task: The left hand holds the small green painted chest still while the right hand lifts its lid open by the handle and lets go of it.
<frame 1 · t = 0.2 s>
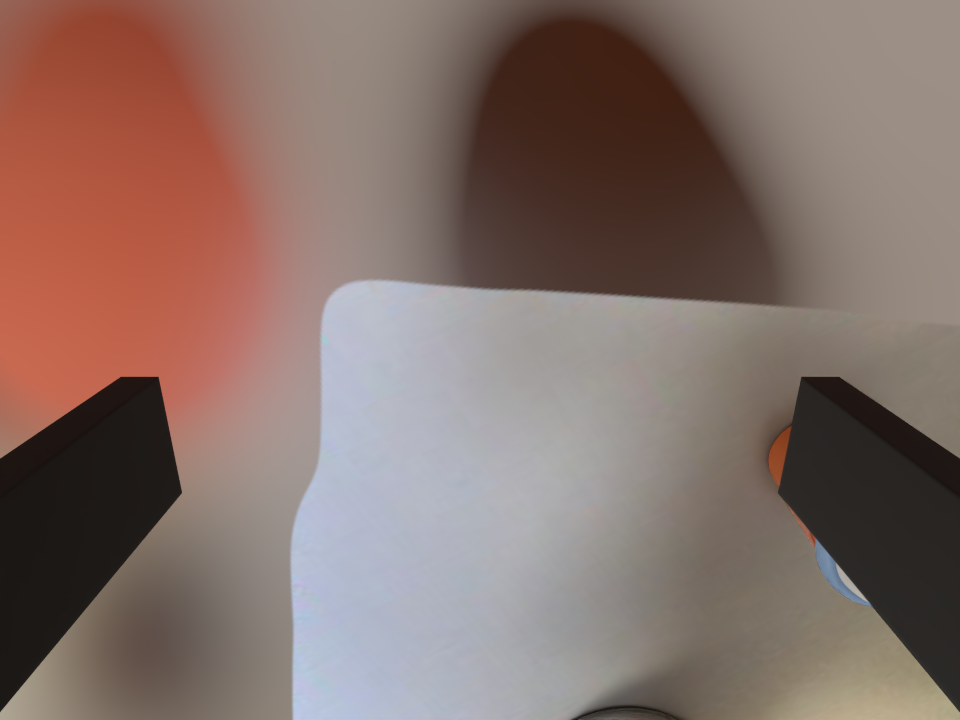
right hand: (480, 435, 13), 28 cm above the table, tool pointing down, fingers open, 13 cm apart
cup with straw: (808, 452, 44), on the table
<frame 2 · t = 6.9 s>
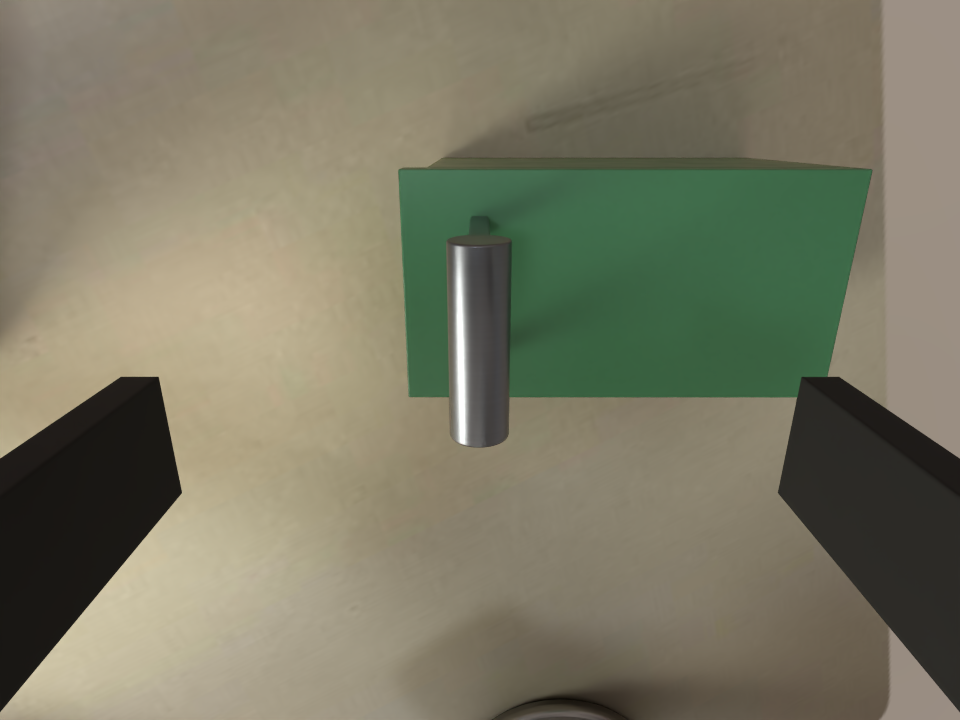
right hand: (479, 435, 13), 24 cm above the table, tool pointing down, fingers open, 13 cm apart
chest: (588, 243, 35), on the table
lid: (644, 312, 21), point 14 cm above the table, hinge at 0.0°
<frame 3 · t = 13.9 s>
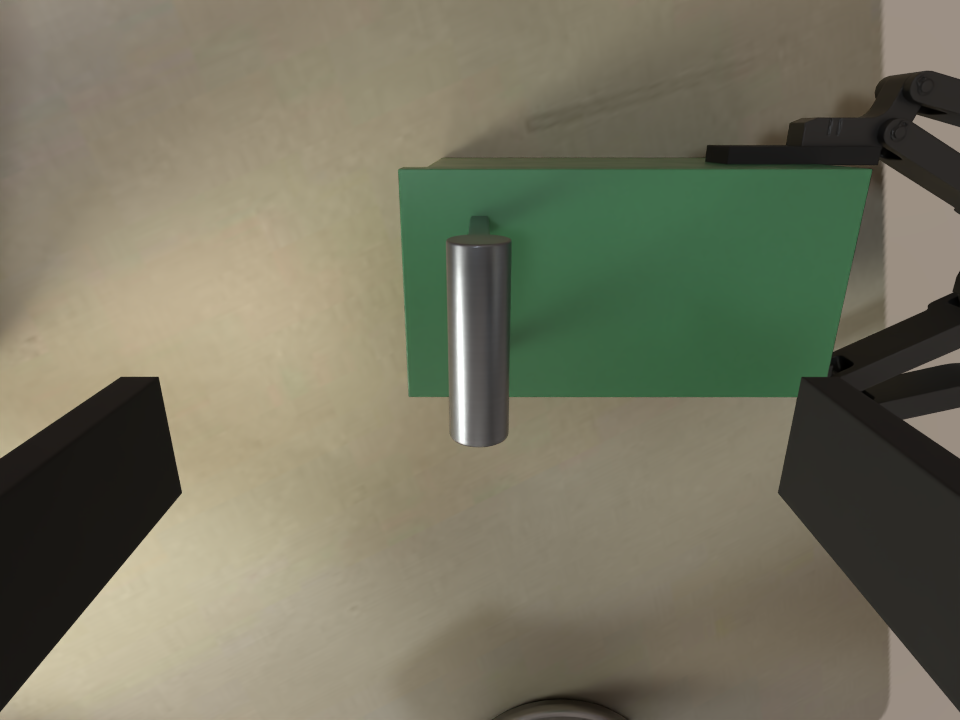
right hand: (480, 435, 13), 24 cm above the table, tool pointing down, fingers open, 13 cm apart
chest: (588, 242, 35), on the table, touching left hand
lid: (644, 311, 21), point 14 cm above the table, hinge at 0.0°
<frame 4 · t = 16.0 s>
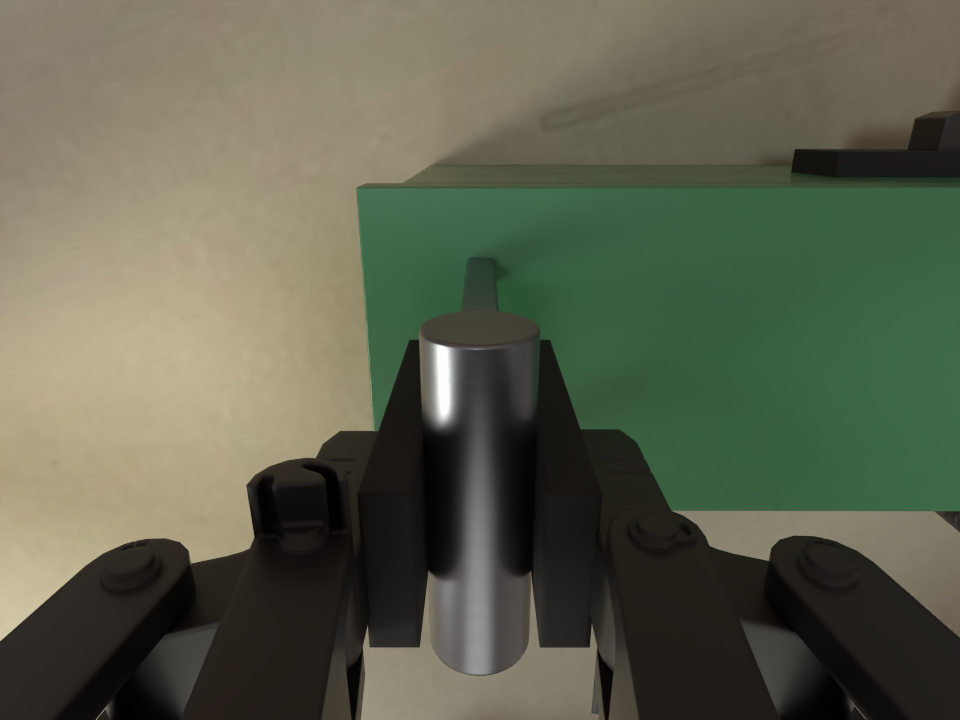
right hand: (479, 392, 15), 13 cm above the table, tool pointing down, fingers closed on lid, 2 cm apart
chest: (621, 274, 27), on the table, touching left hand
lid: (740, 414, 14), point 14 cm above the table, hinge at -0.1°, touching right hand
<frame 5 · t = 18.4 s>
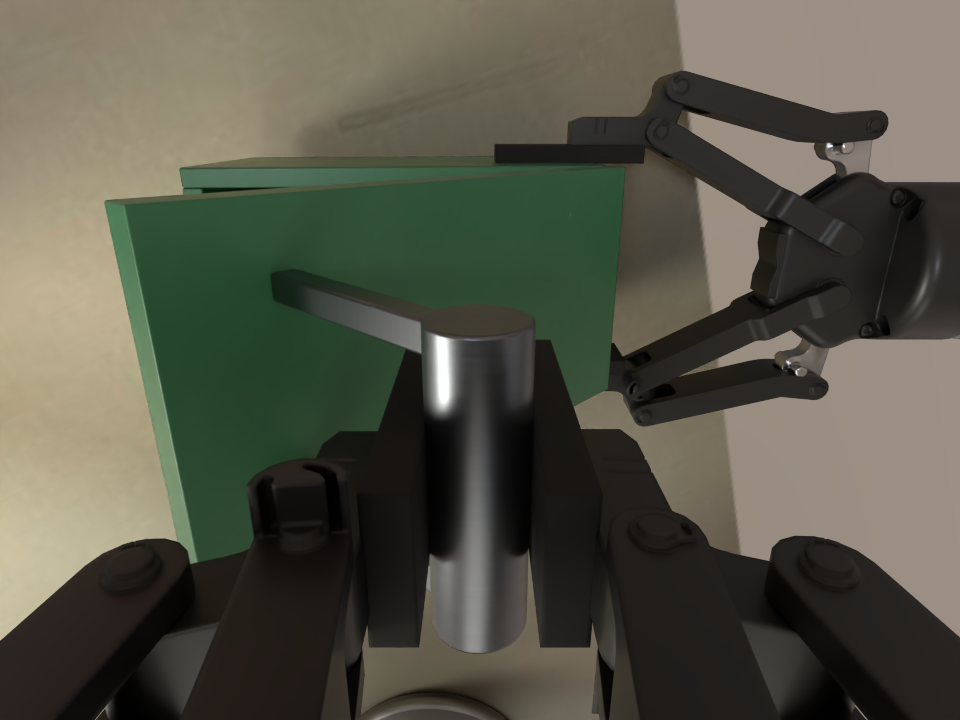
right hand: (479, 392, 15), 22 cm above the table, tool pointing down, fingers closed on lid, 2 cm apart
left hand: (494, 262, 29), fingers closed on chest, 9 cm apart
chest: (412, 242, 35), point 1 cm above the table, touching left hand
lid: (538, 357, 17), point 20 cm above the table, hinge at 42.1°, touching right hand
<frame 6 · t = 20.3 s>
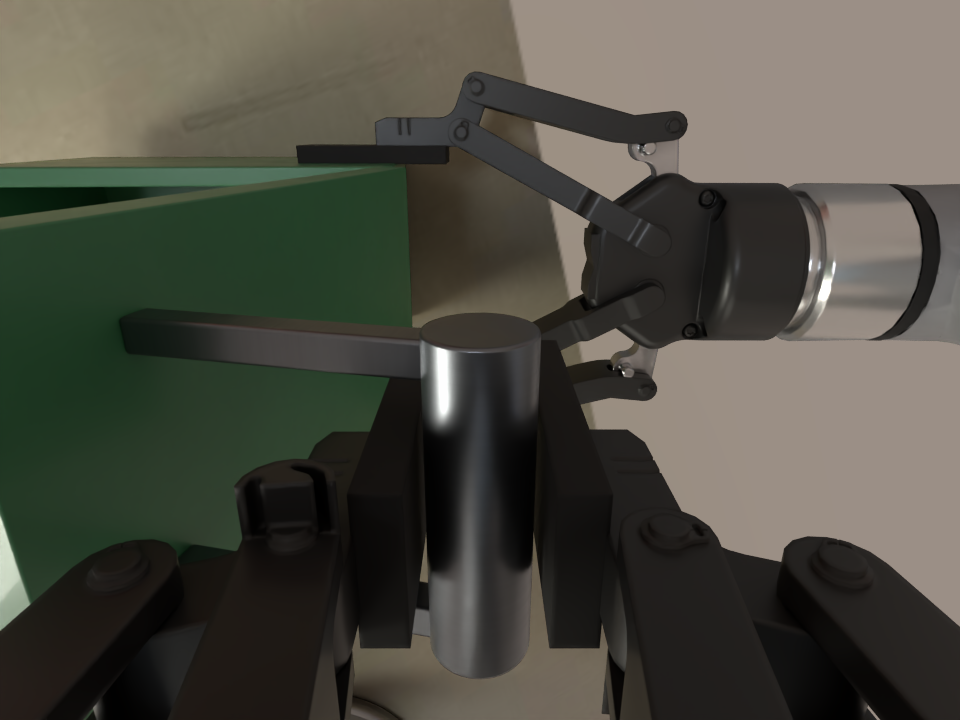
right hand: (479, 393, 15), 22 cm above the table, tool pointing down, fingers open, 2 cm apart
left hand: (316, 262, 29), fingers closed on chest, 9 cm apart
chest: (261, 242, 35), point 1 cm above the table, touching left hand
lid: (409, 365, 16), point 20 cm above the table, hinge at 73.1°
when the left hand's fingers open (6 cm above the table, at t = 24.2 s): chest stays where it is, on the table.
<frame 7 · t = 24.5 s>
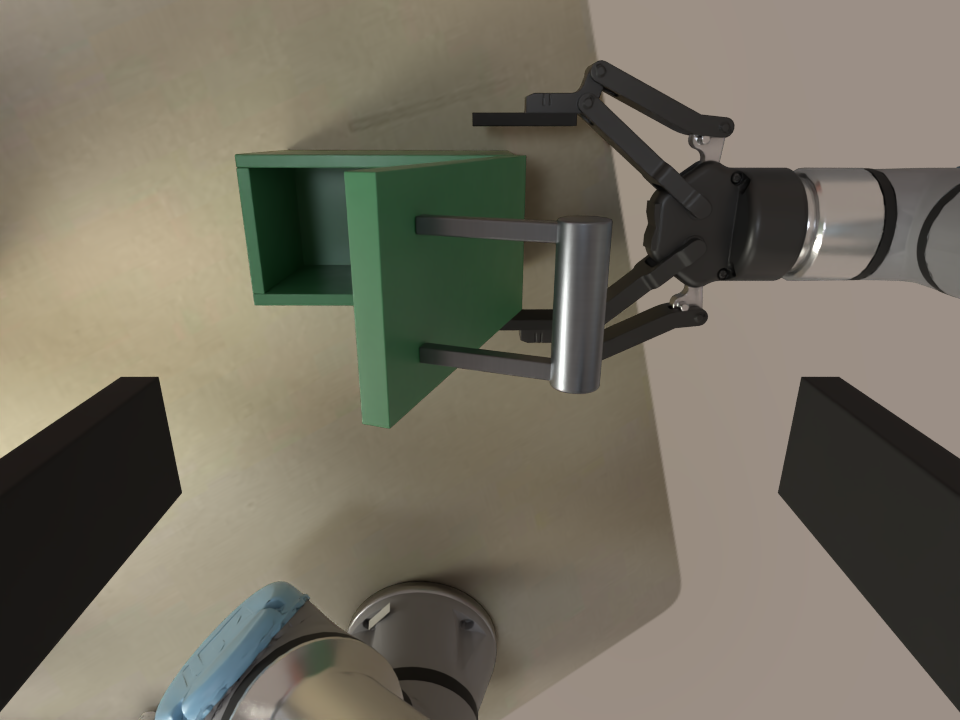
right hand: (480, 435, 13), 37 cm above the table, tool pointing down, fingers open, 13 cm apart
left hand: (472, 225, 41), fingers open, 13 cm apart
chest: (399, 213, 47), on the table
lid: (533, 267, 28), point 20 cm above the table, hinge at 69.9°
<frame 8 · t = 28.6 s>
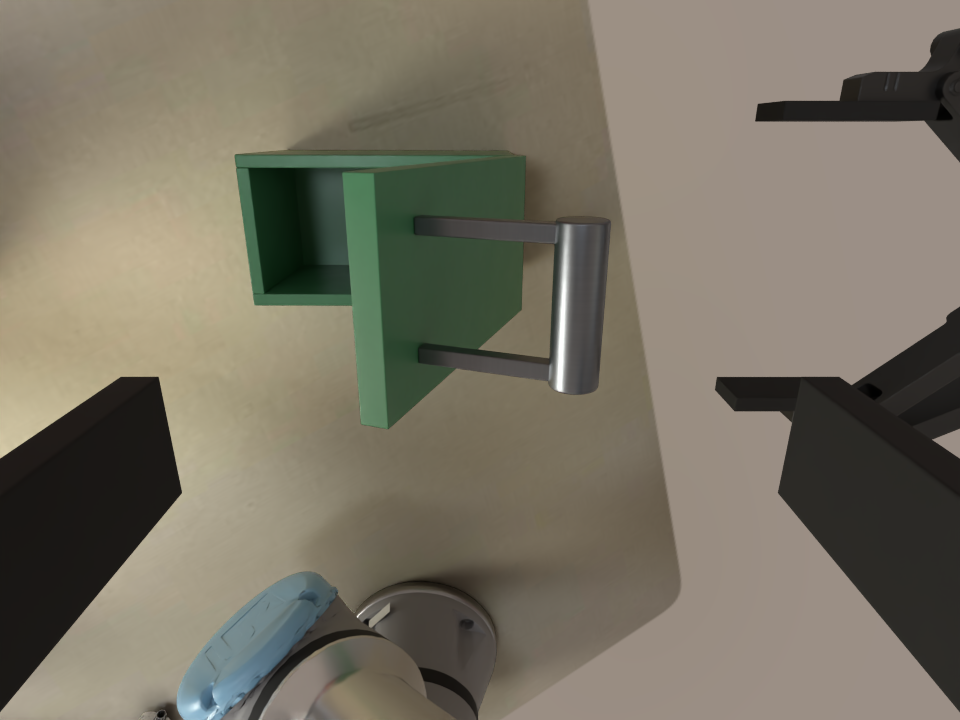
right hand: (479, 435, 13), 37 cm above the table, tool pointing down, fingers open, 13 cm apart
chest: (399, 213, 47), on the table
lid: (532, 268, 28), point 20 cm above the table, hinge at 69.9°
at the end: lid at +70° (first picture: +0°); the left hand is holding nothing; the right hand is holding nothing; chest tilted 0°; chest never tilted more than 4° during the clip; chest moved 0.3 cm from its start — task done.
